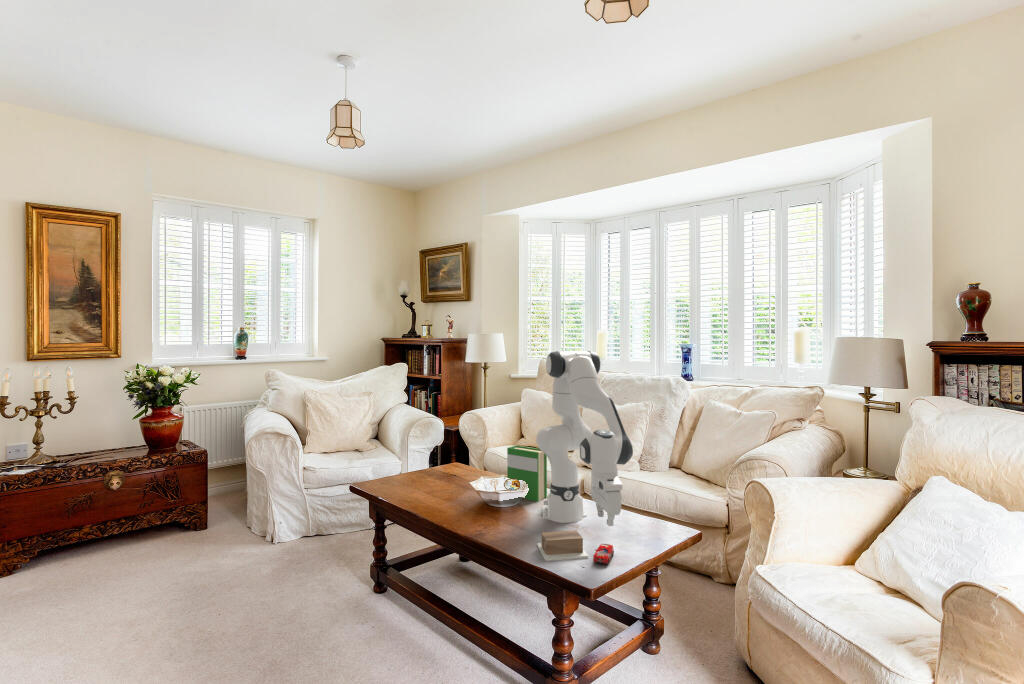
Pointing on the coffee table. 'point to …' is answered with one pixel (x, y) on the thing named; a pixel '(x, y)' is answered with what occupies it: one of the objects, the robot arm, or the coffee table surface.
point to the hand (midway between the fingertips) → (605, 520)
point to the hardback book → (528, 470)
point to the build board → (562, 555)
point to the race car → (603, 553)
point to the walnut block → (561, 542)
